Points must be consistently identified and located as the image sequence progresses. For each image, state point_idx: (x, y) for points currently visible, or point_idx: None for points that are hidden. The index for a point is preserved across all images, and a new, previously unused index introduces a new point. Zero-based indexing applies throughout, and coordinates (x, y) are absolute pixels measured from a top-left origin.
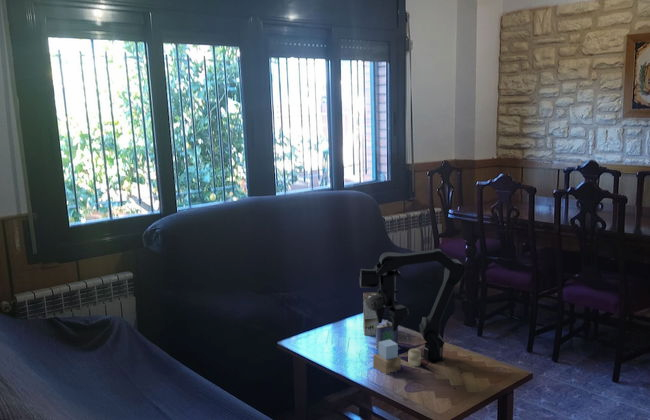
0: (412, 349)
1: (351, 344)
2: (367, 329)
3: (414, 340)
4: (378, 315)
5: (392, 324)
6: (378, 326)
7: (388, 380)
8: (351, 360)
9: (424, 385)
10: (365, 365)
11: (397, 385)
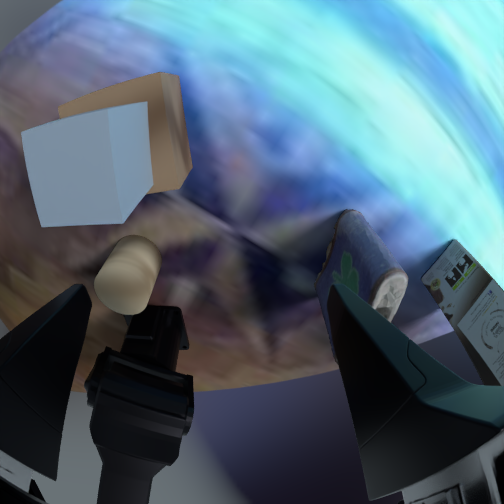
0: (139, 296)
1: (440, 141)
2: (460, 260)
3: (309, 348)
4: (368, 348)
5: (32, 326)
6: (397, 284)
7: (51, 91)
8: (306, 23)
9: (5, 198)
10: (216, 49)
11: (17, 112)
